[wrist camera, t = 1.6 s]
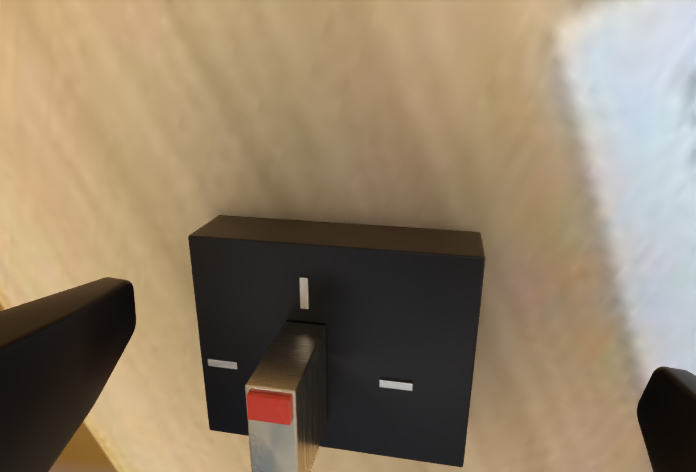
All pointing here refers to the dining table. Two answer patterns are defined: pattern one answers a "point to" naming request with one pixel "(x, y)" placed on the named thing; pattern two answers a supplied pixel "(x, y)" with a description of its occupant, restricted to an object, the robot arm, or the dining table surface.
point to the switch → (288, 400)
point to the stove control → (347, 325)
